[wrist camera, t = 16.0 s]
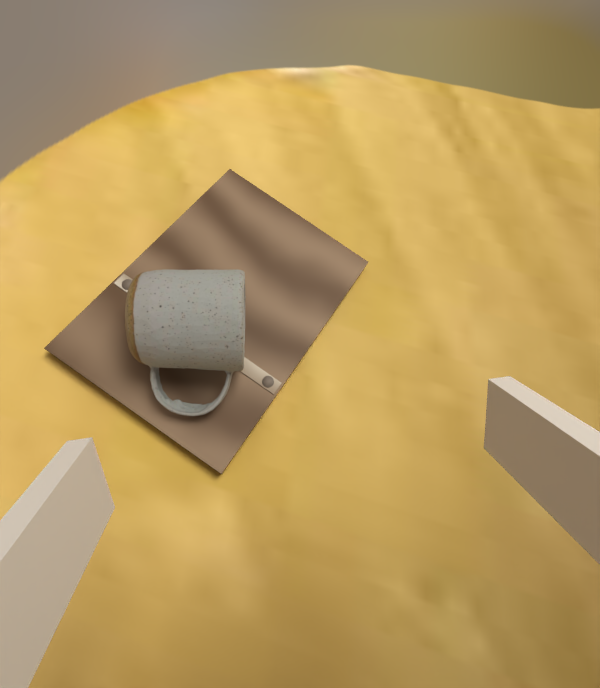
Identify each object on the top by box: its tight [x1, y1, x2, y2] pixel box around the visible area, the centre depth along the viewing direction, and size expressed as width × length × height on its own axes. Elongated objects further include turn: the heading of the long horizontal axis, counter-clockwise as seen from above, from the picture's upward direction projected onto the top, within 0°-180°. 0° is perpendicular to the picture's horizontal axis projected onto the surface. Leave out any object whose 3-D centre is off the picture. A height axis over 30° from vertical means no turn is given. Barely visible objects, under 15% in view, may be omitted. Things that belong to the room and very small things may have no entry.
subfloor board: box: [44, 169, 368, 474], centre depth 34 cm, size 24×17×1 cm
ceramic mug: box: [125, 269, 246, 416], centre depth 28 cm, size 11×8×8 cm
